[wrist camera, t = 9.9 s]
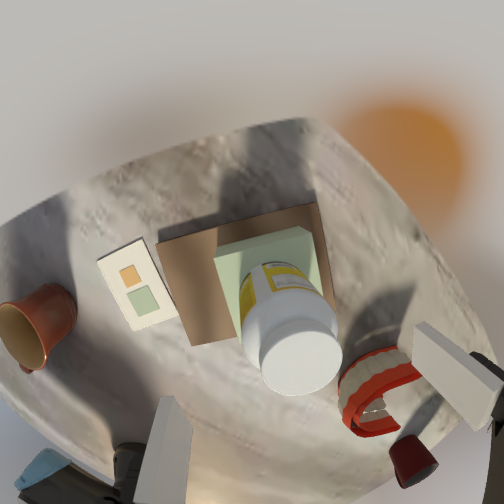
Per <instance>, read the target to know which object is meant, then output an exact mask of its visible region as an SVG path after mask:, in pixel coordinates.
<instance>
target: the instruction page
mask: <svg viewBox="0 0 504 504" xmlns="http://www.w3.org/2000/svg"><path fill="white" fill-rule="evenodd" d="M97 264H98V266H99V268H100V270H101V272H102V274H103V276H104V278H105V280H106V282H107V284H108V286H109V288H110V290H111V292H112V294H113V296H114V298H115V300H116V301H117V303H118V305H119V307H120V309H121V311H122V312H123V314H124V316H125V318H126V319H127V321H128V323H129V325H130V326H131V328H132V330H133V331H136V330H139V329H142V328H145V327H148V326H150V325H153V324H156V323H159V322H161V321H164V320H167V319H170V318H172V317H175V316H178V315H179V313H178V310H177V308H176V306H175V305H174V303H173V301H172V299H171V297H170V295H169V293H168V291H167V289H166V287H165V285H164V283H163V281H162V279H161V277H160V275H159V273H158V271H157V269H156V267H155V265H154V263H153V261H152V259H151V256H150V254H149V252H148V250H147V248H146V246H145V243H144V241H143V239H141V240H139V241H137V242H135V243H133V244H131V245H129V246H127V247H125V248H123V249H121V250H119V251H117V252H115V253H113V254H111V255H109V256H107V257H105V258H103V259H101V260H99V261H97Z"/></svg>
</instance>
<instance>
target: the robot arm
mask: <svg viewBox="0 0 504 504" xmlns="http://www.w3.org/2000/svg"><path fill="white" fill-rule="evenodd" d="M412 365H413V366H414V367H415V368H416V369H417V370H418V371H419V372H420V373H421V374H422V375H423V376H424V377H425V378H426V379H427V380H428V381H429V382H430V384H431V385H432V386H433V387H434V388H435V389H436V390H437V391H438V392H439V393H440V394H441V395H442V396H443V397H444V398H445V399H446V400H447V401H448V402H449V404H450V405H451V406H452V407H453V408H454V409H455V410H456V411H457V412H458V413H459V414H460V415H461V416H462V418H463V419H465V421H466V422H467V423H468V424H469V425H470V426H471V427H472V428H473V429H474V431H475V432H476V431H478V430H479V429H480V428H481V427H482V426H484V425H485V424H486V423H487V421H488V419H489V417H490V415H491V416H492V417H493V420H492V422H491V424H490V426H489V428H488V431H487V432H489V431H490V430H491V428H492V440H491V452H490V462H489V470H488V476H487V483H486V488H485V493H484V498H483V502H482V504H504V371H503V370H502V369H501V368H499V367H498V366H497V365H496V364H493V362H492V361H490V360H488V358H486V357H485V356H484V355H482V354H480V353H477V352H474V351H473V352H471V353H470V354H468V353H467V352H465V351H464V350H463V349H461V348H460V347H459V346H457V345H456V344H455V343H453V342H452V341H451V340H449V339H448V338H447V337H445V336H444V335H443V334H441V333H440V332H439V331H437V330H436V329H435V328H433V327H432V326H430V325H429V324H428V323H426V322H425V321H423V322H421V323H419V324H417V325H415V326H414V337H413V352H412ZM192 432H193V428H192V426H191V424H190V423H189V421H188V419H187V418H186V416H185V414H184V413H183V411H182V409H181V408H180V406H179V404H178V402H177V401H176V399H175V397H174V396H166V397H160V401H159V404H158V407H157V411H156V414H155V418H154V421H153V425H152V429H151V432H150V436H149V439H148V443H147V445H144V444H137V443H126V444H122V445H120V446H118V447H117V448H116V451H115V454H114V457H113V462H114V476H115V483H114V486H113V487H112V486H110V485H109V484H107V483H105V482H104V481H102V480H100V479H98V478H96V477H95V476H93V475H91V474H90V473H88V472H87V471H85V470H84V469H82V468H80V467H79V466H77V465H76V464H74V463H73V462H72V460H70V459H67V458H66V457H64V456H62V455H61V454H60V453H58V452H57V451H55V450H53V449H51V448H45V449H43V450H42V451H41V452H40V453H39V454H38V455H37V456H36V457H35V458H34V460H33V461H32V462H31V463H30V464H29V465H28V466H27V468H26V469H25V470H24V471H23V473H22V474H21V475H20V476H19V478H18V479H17V480H16V481H15V483H14V485H15V487H16V488H17V490H19V491H21V492H20V494H19V496H18V498H17V499H18V501H19V504H185V500H186V489H187V478H188V468H189V459H190V450H191V441H192Z"/></svg>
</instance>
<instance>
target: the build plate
mask: <svg viewBox="0 0 504 504" xmlns="http://www.w3.org/2000/svg"><path fill="white" fill-rule="evenodd" d="M297 226H300V227H302V228H304V229H305V230H307V231H309V232H311V233H312V237H313V242H314V247H315V252H316V258H317V263H318V269H319V274H320V280H321V286H322V291H323V297H324V299H325V300H326V301H327V302H328V303H329V305H330V306H331V308H332V309H333V310H336V308H335V301H334V294H333V288H332V281H331V275H330V269H329V263H328V257H327V252H326V246H325V241H324V235H323V230H322V225H321V220H320V215H319V211H318V206H317V203H316V202H312V203H308V204H303V205H299V206H295V207H291V208H287V209H283V210H278V211H274V212H270V213H266V214H262V215H258V216H254V217H250V218H247V219H243V220H239V221H235V222H231V223H227V224H224V225H220V226H216V227H212V228H209V229H205V230H201V231H198V232H194V233H190V234H187V235H183V236H180V237H176V238H173V239H169V240H166V241H162V242H159V243H157V244H156V249H157V252H158V255H159V258H160V261H161V264H162V267H163V270H164V273H165V276H166V279H167V282H168V285H169V288H170V291H171V294H172V296H173V299H174V302H175V305H176V307H177V310H178V313H179V315H180V318H181V321H182V323H183V326H184V328H185V331H186V333H187V336H188V338H189V341H190V343H191V346H196V345H201V344H206V343H211V342H215V341H220V340H225V339H229V338H233V337H238V336H237V333H236V330H235V327H234V324H233V321H232V318H231V314H230V311H229V308H228V305H227V302H226V298H225V295H224V292H223V289H222V285H221V282H220V279H219V275H218V272H217V269H216V265H215V262H214V255H215V252H216V249H217V247H219V246H223V245H226V244H230V243H234V242H238V241H242V240H246V239H249V238H253V237H257V236H261V235H265V234H269V233H273V232H277V231H281V230H285V229H289V228H293V227H297Z"/></svg>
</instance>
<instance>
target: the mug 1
mask: <svg viewBox="0 0 504 504" xmlns="http://www.w3.org/2000/svg"><path fill="white" fill-rule="evenodd" d="M76 320H77V310H76V306H75V303H74V301H73V299H72V297H71V296H70V294H69V293H68V292H67V291H66V290H65V289H64V288H63V287H61V286H60V285H57V284H44V285H43V286H40V287H38V288H37V289H36V290H34V291H32V292H31V293H29V294H28V295H27V296H25V297H24V298H22V299H20V300H17V301H11V302H4V303H2V304H1V305H0V337H1V339H2V341H3V343H4V345H5V347H6V348H7V350H8V351H9V353H10V354H11V355H12V356H13V357H14V358H15V359H16V360H17V361H18V362H19V366H20V368H21V370H22V371H24V372H25V373H27V374H30V373H32V372H33V371H34V370H40V369H42V368H43V367H44V366H45V364H46V362H47V359H48V356H49V354H50V352H51V350H52V349H53V347H54V346H56V345H57V344H58V343H59V342H60V341H61V340H62V339H63V338H64V337H65V336H66V335H68V334H69V333H70V331H71V330H72V328H73V327H74V325H75V323H76Z"/></svg>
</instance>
